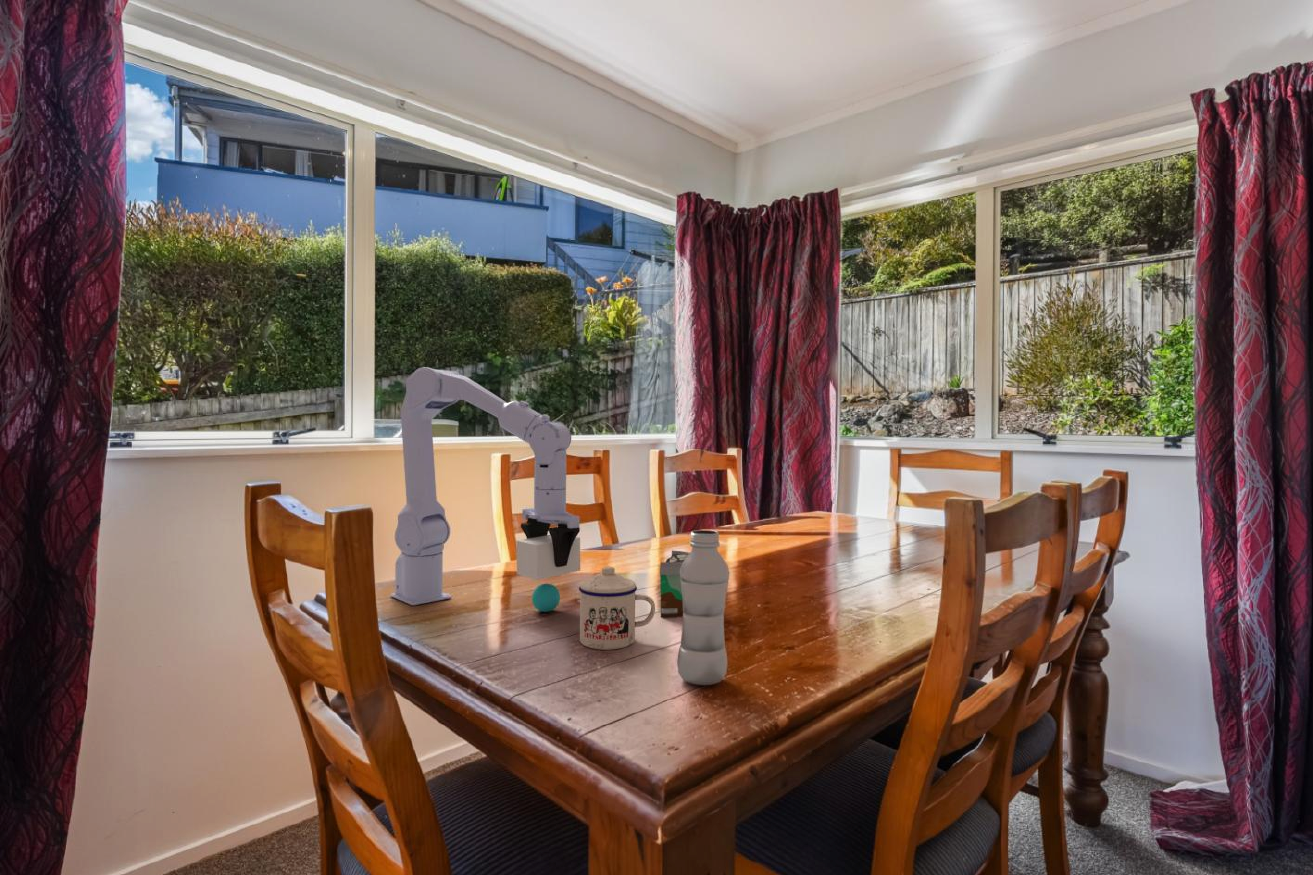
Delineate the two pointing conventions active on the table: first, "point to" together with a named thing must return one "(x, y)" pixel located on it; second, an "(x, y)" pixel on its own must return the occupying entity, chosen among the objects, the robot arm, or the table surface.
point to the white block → (544, 558)
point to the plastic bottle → (703, 611)
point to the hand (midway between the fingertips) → (549, 563)
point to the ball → (546, 597)
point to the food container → (672, 585)
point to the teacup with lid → (609, 611)
